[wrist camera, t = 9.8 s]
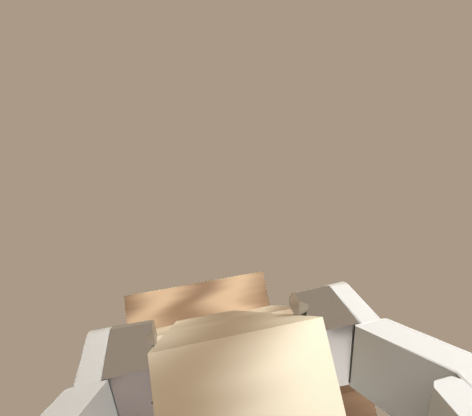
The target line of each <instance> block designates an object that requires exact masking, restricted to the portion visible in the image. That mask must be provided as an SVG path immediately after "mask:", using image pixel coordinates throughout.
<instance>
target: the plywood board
mask: <svg viewBox="0 0 472 416" xmlns="http://www.w3.org/2000/svg"><path fill="white" fill-rule="evenodd" d="M124 299H125V309H126V320H127V324H131V323H136V322H142V321H148V320H154V322H155V326H156V331H157V344H156V345H155V346H154V347H153V348H152V349H151V350H150V351H149V352H148V364H149V373H150V382H151V391H152V401H153V410H154V416H346V412H345V408H344V404H343V400H342V396H341V391H340V387H339V383H338V379H337V375H336V371H335V366H334V362H333V358H332V354H331V350H330V345H329V341H328V337H327V333H326V329H325V324H324V320H323V317H319V316H306V315H293V314H294V313H293V311H292V310H291V308H290V306H289V305H287V306H286V305H285V306H270V304H269V299H268V295H267V290H266V284H265V280H264V274H263V271H262V272H256V273H251V274H245V275H240V276H234V277H229V278H223V279H217V280H212V281H206V282H201V283H195V284H189V285H184V286H179V287H173V288H167V289H162V290H156V291H150V292H145V293H139V294H133V295H128V296H124Z"/></svg>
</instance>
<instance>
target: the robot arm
mask: <svg viewBox="0 0 472 416" xmlns="http://www.w3.org/2000/svg"><path fill="white" fill-rule="evenodd" d="M289 306H290V308H291V310H292V311H293V313H294V314H293V315H306V316H319V317H323V320H324V324H325V329H326V333H327V337H328V341H329V345H330V350H331V354H332V358H333V362H334V366H335V371H336V375H337V379H338V383H339V387H340V386H344V385H349V384H350V387H352V388H353V389H355V390H356V391H357V392H359V393H360V394H361V395H363V396H364V397H366V398H367V399H368V400H370V401H371V402H372V403H374V404H375V405H376V406H378V407H379V408H381V409H382V410H383V411H385V412H386V413H387V414H389V415H390V416H472V353H470V352H468V351H465V350H462V349H460V348H458V347H455V346H452V345H450V344H448V343H446V342H443V341H441V340H438V339H436V338H433V337H431V336H428V335H426V334H424V333H421V332H419V331H416V330H414V329H411V328H409V327H406V326H404V325H402V324H399V323H397V322H394V321H392V320H389V319H387V318H385V319H380V318H379V317H378V316H377V315H376V314H375V312H374V311H372V309H371V308H370V307H369V306H368V305H367V304H366V303H365V302H364V301H363V300H362V299H361V298H360V296H358V295H357V293H356V292H355V291H354V290H353V289H352V288H351V287H350V286H349V285H348V284H347V283H345V282H339V283H335V284H330V285H326V286H324V287H319V288H313V289H308V290H304V291H299V292H294V293H291V294H290V298H289ZM156 344H157V331H156V326H155V322H154V320H148V321H142V322H136V323H131V324H125V325H119V326H113V327H109V328H104V329H98V330H92V331H90V332H89V333H88V335H87V336H86V340H85V343H84V347H83V351H82V355H81V358H80V362H79V366H78V369H77V373H76V377H75V381H74V384H73V387H72V388H68V389H65V390H64V391H63V392H62V393H61V394H60V395H59V396H58V397H57V398H56V399H55V400H54V401H53V403H52V404H51V405H50V406H49V407H48V408H47V409H46V410H45V411H44V412H43V413H42V414H41V415H40V416H154V410H153V401H152V391H151V382H150V373H149V364H148V352H149V351H150V350H151V349H152V348H153V347H154V346H155V345H156Z"/></svg>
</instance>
